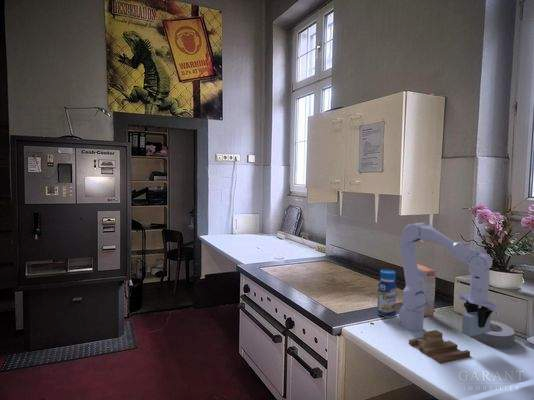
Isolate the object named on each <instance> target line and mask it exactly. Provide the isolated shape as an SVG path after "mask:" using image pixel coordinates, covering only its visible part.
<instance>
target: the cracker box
mask: <svg viewBox="0 0 534 400" xmlns="http://www.w3.org/2000/svg"><path fill="white" fill-rule="evenodd" d="M417 268H418V274H419V281H420V285H421V286H422V287H423V288H424V292H425V294H426V296H427V303H426V304H425V305H424V317H433V316H434V311H435V310H434V309H435V295H436V294H435V293H436V278H437V277H436V274H437V273H436V272H437V271H436V270H434V269H432V268H429V267H428V266H425V265H422V264H420V263H417Z"/></svg>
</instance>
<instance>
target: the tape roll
mask: <svg viewBox="0 0 534 400" xmlns="http://www.w3.org/2000/svg"><path fill="white" fill-rule="evenodd" d="M515 336H516V332H515V330H514V329H513V328H512V327H511V326H508V325H507V324H504V323H503V322H500V321H496V320H491V321H490V332H487V333H483V334H478V335H474V336H468V337H469V338H471V339H473V340H475V341H478V342H480V343H481V344H483V345H485V346H488V347H490V348H495V349H511V348H513V347H514V346H515Z"/></svg>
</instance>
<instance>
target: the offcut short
mask: <svg viewBox="0 0 534 400" xmlns="http://www.w3.org/2000/svg"><path fill="white" fill-rule="evenodd" d="M422 337H423V339H425V340H427V341H428V342H433V341H439V340H442V339H443V332H441V331H439V330H437V329H434V330H429V331H423V336H422Z"/></svg>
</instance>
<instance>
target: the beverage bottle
mask: <svg viewBox="0 0 534 400" xmlns="http://www.w3.org/2000/svg"><path fill="white" fill-rule="evenodd" d="M379 278H380V280H379V281H378V283H377V287H378V288H377V308H376V313H377V315H378V314H379V315H378V316H380V315H382V316H385V317H384V318H389V319H390V318H395V317H396V316H397V296H398V291H397V288H398V285H397V283H396V281H395V280H396V278H397V272H396V271H395V270H393V269H392V270H391V269H380V271H379ZM382 316H381V317H382Z"/></svg>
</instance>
